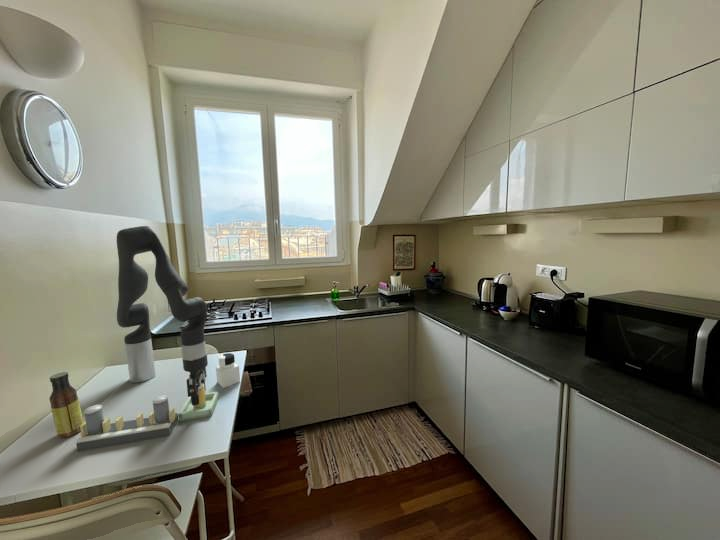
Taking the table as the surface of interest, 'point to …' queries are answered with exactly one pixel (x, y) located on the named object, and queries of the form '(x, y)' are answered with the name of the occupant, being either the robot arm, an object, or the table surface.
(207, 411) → the tray
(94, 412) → the dome-capped grey cylinder
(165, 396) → the cylinder
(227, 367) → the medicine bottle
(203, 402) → the cylinder
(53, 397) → the sauce bottle
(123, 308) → the robot arm
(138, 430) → the fuse block
